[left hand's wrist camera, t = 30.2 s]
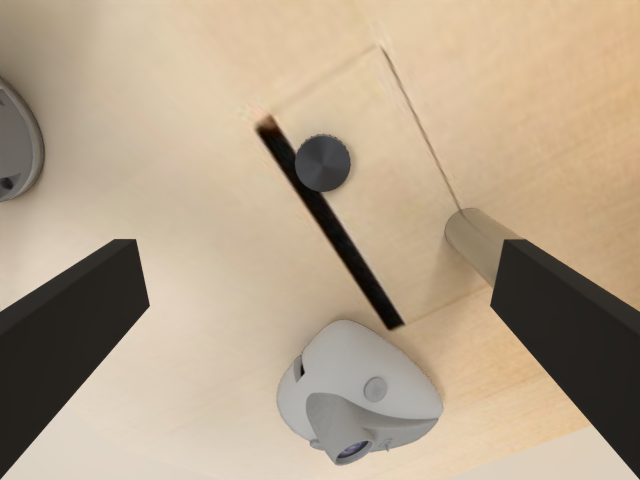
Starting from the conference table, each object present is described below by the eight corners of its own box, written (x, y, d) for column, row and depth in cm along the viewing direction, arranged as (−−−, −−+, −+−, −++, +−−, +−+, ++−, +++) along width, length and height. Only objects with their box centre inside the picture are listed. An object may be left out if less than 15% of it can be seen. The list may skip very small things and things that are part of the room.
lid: (360, 163, 39) (362, 166, 37) (321, 198, 41) (321, 203, 39) (324, 121, 38) (324, 122, 36) (284, 160, 39) (282, 163, 37)
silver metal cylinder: (438, 243, 43) (515, 331, 26) (454, 203, 41) (547, 269, 24) (478, 252, 43) (578, 344, 26) (495, 213, 41) (615, 285, 25)
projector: (302, 439, 55) (296, 549, 41) (262, 321, 47) (238, 409, 33) (440, 416, 53) (482, 523, 39) (423, 289, 45) (468, 368, 31)
